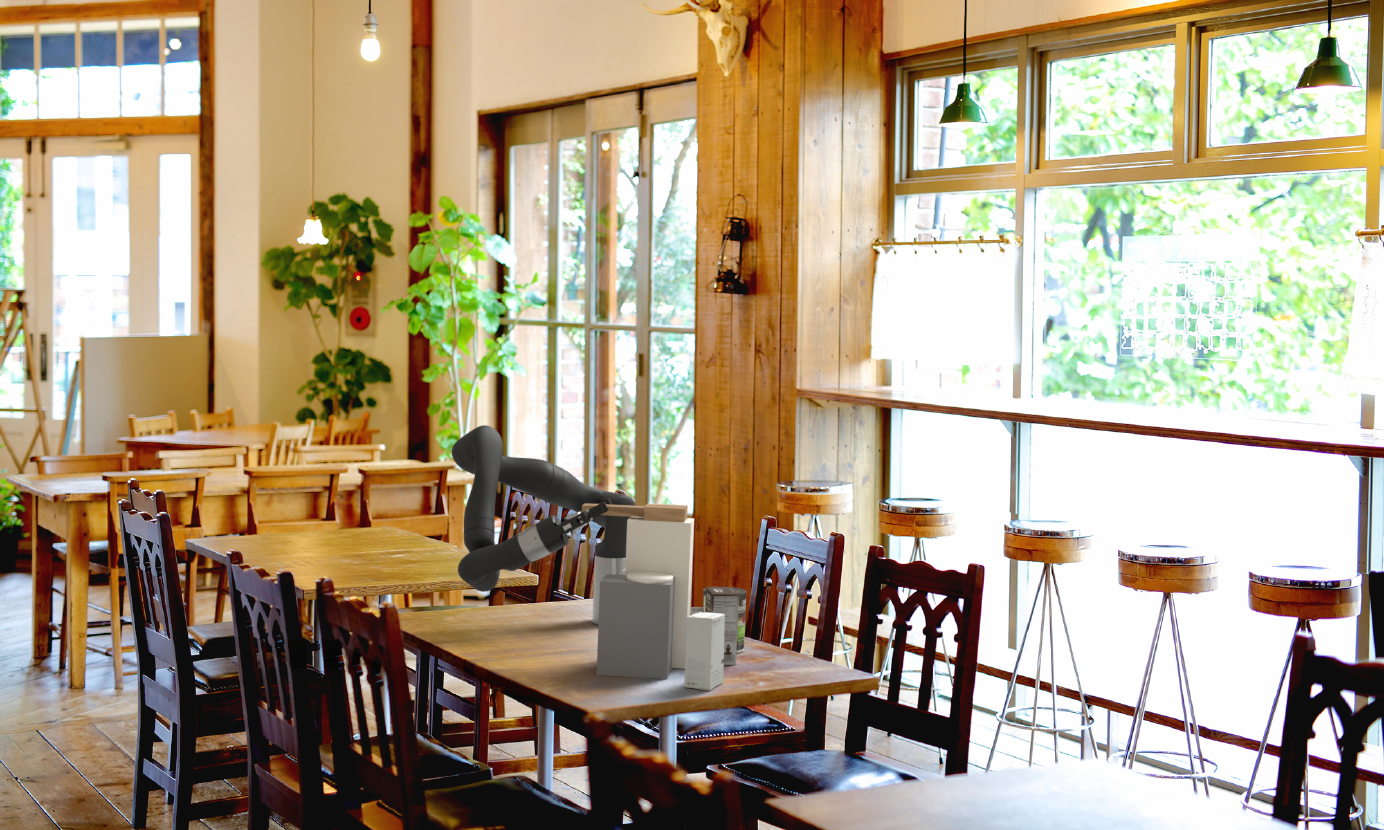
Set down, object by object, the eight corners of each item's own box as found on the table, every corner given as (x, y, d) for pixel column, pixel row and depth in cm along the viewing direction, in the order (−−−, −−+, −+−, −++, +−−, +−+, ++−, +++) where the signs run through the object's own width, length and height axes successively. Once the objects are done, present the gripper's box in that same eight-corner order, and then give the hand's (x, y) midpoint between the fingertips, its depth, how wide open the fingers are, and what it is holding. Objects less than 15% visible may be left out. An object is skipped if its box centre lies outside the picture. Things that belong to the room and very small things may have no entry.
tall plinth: (626, 656, 296) (632, 515, 295) (688, 659, 295) (694, 518, 293) (621, 664, 287) (627, 519, 286) (685, 668, 286) (691, 523, 285)
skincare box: (709, 691, 266) (712, 619, 266) (682, 687, 268) (685, 615, 268) (724, 682, 274) (726, 612, 274) (697, 679, 276) (700, 609, 276)
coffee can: (750, 647, 310) (752, 588, 310) (736, 656, 300) (738, 595, 300) (709, 642, 314) (711, 584, 313) (694, 651, 304) (696, 590, 303)
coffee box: (702, 655, 299) (705, 586, 298) (729, 656, 300) (732, 586, 300) (709, 665, 290) (712, 593, 289) (737, 665, 291) (740, 593, 290)
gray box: (603, 664, 286) (606, 569, 286) (671, 668, 285) (675, 572, 285) (596, 674, 277) (600, 576, 276) (666, 678, 275) (670, 580, 275)
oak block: (585, 513, 294) (586, 500, 294) (687, 518, 293) (687, 505, 292) (580, 517, 287) (581, 503, 287) (684, 522, 286) (685, 508, 286)
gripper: (528, 527, 285) (596, 492, 283) (541, 520, 299) (605, 486, 298) (544, 558, 285) (612, 523, 283) (556, 549, 299) (620, 515, 297)
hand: (608, 504), depth 290 cm, fingers open, 6 cm apart
